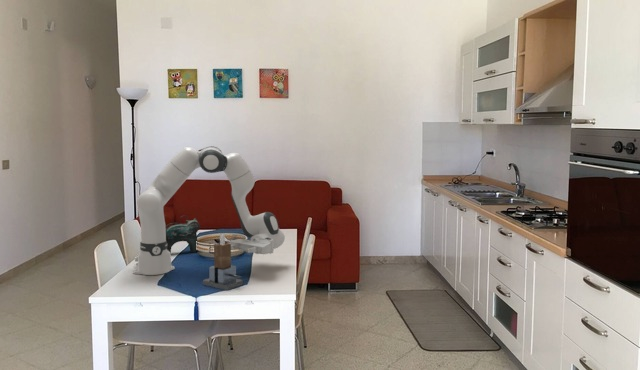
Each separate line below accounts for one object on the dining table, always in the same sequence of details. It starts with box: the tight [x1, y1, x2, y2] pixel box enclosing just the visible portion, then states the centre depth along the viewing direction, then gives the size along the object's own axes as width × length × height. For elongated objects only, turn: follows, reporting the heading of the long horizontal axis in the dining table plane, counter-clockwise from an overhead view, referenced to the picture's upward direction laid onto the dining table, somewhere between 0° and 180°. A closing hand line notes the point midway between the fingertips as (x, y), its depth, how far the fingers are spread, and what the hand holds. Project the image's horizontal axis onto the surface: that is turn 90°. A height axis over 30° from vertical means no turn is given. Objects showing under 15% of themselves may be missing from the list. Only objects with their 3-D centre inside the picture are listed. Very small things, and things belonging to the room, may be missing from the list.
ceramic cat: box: [166, 215, 200, 254], centre depth 297 cm, size 20×6×20 cm, turn 122°
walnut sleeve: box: [213, 242, 232, 269], centre depth 242 cm, size 5×5×10 cm
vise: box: [202, 233, 244, 291], centre depth 241 cm, size 17×10×22 cm, turn 57°
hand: (239, 249), depth 251 cm, fingers open, 8 cm apart
